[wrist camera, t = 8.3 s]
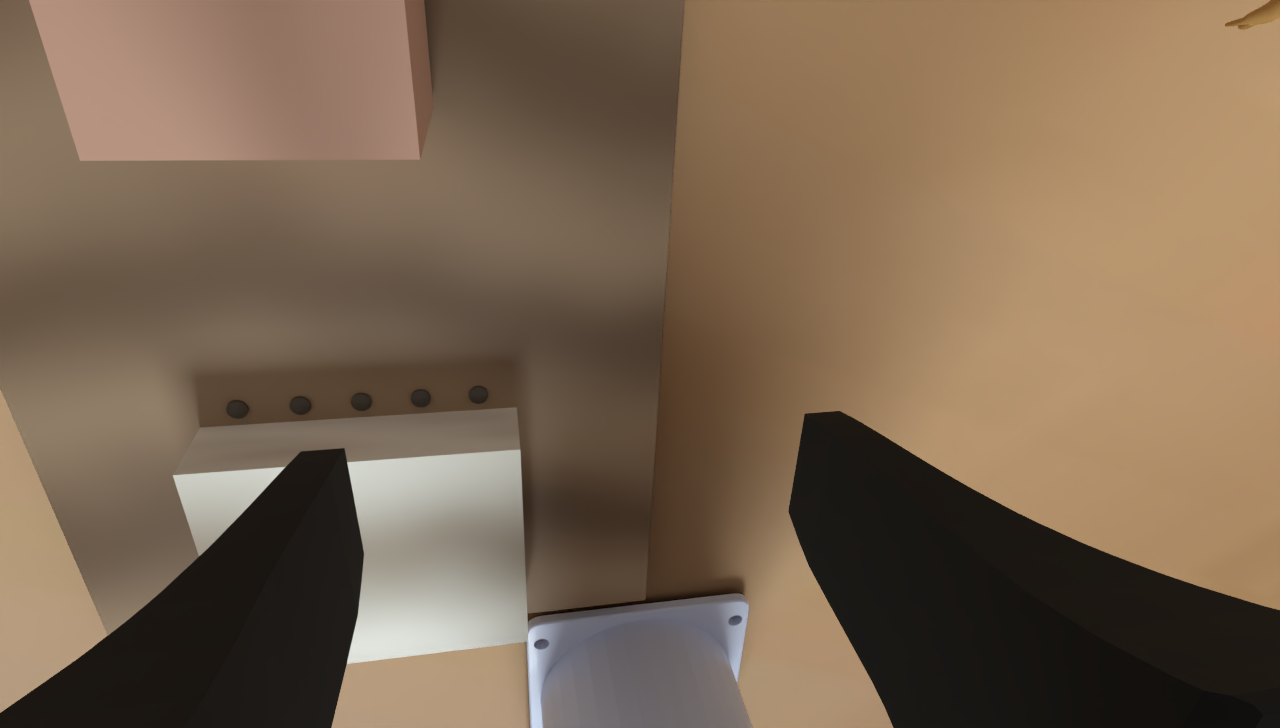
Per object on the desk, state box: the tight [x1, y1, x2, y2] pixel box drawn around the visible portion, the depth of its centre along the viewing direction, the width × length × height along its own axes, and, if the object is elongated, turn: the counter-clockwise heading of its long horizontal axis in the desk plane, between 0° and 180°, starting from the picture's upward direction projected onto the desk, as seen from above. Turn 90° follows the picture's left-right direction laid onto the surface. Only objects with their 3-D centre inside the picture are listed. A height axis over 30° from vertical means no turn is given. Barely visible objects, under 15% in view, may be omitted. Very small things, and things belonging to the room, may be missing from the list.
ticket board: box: [0, 0, 684, 664], centre depth 18 cm, size 22×16×3 cm
